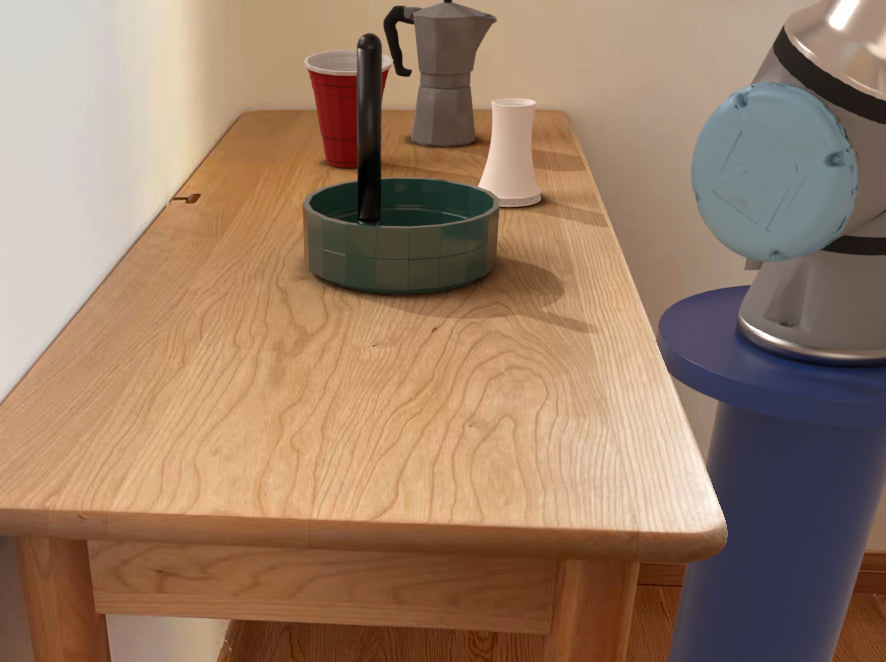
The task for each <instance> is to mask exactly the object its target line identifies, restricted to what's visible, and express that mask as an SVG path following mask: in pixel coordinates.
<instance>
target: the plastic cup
mask: <svg viewBox="0 0 886 662" xmlns="http://www.w3.org/2000/svg"><path fill="white" fill-rule="evenodd" d="M303 63H304V67H306V70H307V72H308V74H309V75H308V76H309V79H310V82H311V87H312V91H313V95H314V101H315V102H314V103H315V107H316V114H317V119H318V125H319V131H320V136H321V137H322V138H321V139H322V144H323V151H324V157H325V159H326V163H327V164H328V165H329V166H331V167H335V168H336V167H337V168H345V169H347V168H349V169H351V168H352V169H353V168H357V49H341V50H340V49H339V50H327V51H322V52H317V53H313V54H311V55H309V56H306V57H305V59H304V61H303ZM392 65H393V59H392V57H390V56H389V55H387V54H384V53H382V100H383V99H384V93H385V88H386V83H387V79H388V76H389V72H390V69H391V68H392Z"/></svg>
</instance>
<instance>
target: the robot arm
mask: <svg viewBox="0 0 886 662" xmlns="http://www.w3.org/2000/svg"><path fill="white" fill-rule="evenodd" d="M690 169H691V170H690V180H691V188H692V191H693V192H694V197H695V201H696V208H697V211H698V214H699V215H700V217H701V219H702V221H703V223H704V224H705V226H706V227H707V229H708V230H709V232H710V233H711V234H712V235H713V237H714V238H715V239H716V240H717V241H719V243H720V244H722V245H723V246H724V247H726V248H727V249H729V250H730V251H731V252H733V253H735V254H737V255H739V256H741V257H743V258H746V259H745V265H744V269H743V271H757V273H756V276H755V277H754V279H753V281H752V282H751V284H750V285H751V286H750V288H749V290H748V292H747V294H746V296H745V297H744V299H743V302H742V304H741V307H740V309H739V314H738V319H737V324H736V331H737V333H738V335H739V336H740V338H741V339H742V340H744V341H745V342H746V343H747V344H749V345H750V346H752V347H754V348H756V349H758V350H760V351H762V352H764V353H767V354H770V355H772V356H775V357H778V358H782V359H785V360H789V361H793V362H798V363H803V364H808V365H814V366H821V367H830V368H845V369H867V368H880V367H886V0H820V1H819V2H816V3H815V4H812V5H810V6H807V7H804V8H801V9H798V10H796V11H794V12H792V13H791V14H789V16H788V17H787V19H786V20H785V21H784V23H783V25H782V27H781V28H780V30H779V33H778V34H777V36H776V37H775V39H774V41H773V43H772V45H771V46H770V49H769V50H768V52H767V54H766V56H765V58H764V59H763V61H762V63H761V65H760V67H759V68H758V69H757V72H756V74H755V76H754V77H753V79H752V81H751V82H750V84H749V85H747V86H745V87H742V88H739V89H738V90H735V91H734V92H733V93H731V94H730V95H729V96H728V98H727V99H725V100H724V101H723V102H722V103H721V104H720V105H719V106H717V108H716V109H715V110H714V111H713V112H712V113H711V114H710V115H709V117H708V118H707V120H706V121H705V123H704V124H703V126H702V128H701V130H700V132H699V135H698V137H697V139H696V142H695V145H694V149H693V154H692V157H691V168H690Z"/></svg>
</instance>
